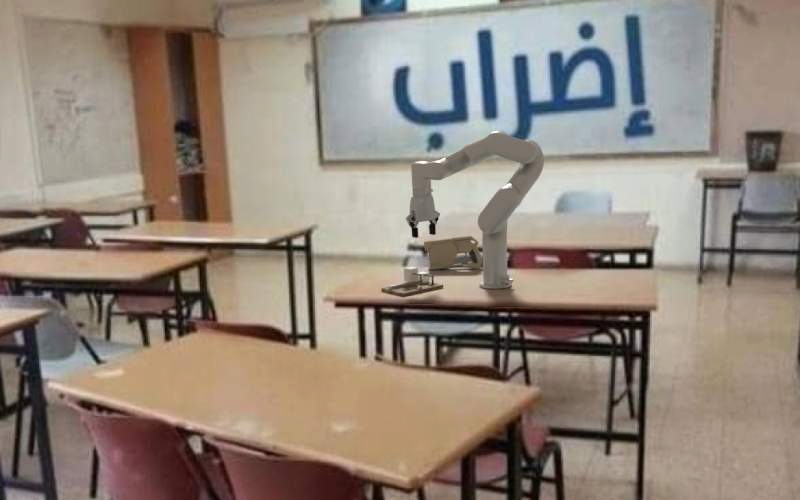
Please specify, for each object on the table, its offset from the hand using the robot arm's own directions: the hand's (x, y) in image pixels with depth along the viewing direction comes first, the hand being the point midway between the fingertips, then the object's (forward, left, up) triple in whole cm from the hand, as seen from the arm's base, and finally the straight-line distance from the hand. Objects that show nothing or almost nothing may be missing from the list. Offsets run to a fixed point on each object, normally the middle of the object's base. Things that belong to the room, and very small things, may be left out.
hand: (424, 235), depth 319 cm
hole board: (-3, +9, -20) cm, 22 cm away
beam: (-2, +9, -19) cm, 21 cm away
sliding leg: (-2, +7, -18) cm, 20 cm away
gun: (+15, -29, -20) cm, 38 cm away
